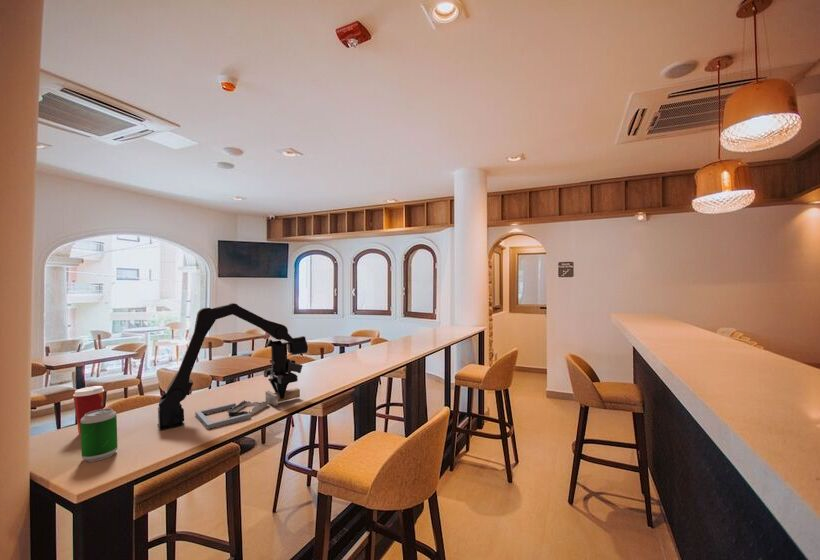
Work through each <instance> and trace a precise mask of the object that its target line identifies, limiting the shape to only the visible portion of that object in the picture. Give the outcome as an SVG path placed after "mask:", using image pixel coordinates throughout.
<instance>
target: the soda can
mask: <svg viewBox="0 0 820 560" xmlns="http://www.w3.org/2000/svg"><path fill="white" fill-rule="evenodd" d="M117 416H118V415H117V411H115V410H113V408H103V409H100V410H95V411H92V412H89V413H86V414H85V415H84V417H83V418H81V436H80V443H81V444H80V447H81V449H80V450H81V459H82V460H85V461H86V462H89V463H90V462H91V463H93V462H98V461H102V460H106V459H108V458H110V457H113V455H114V454H115V453H116V452H117V451H118V422H117V419H118V418H117Z"/></svg>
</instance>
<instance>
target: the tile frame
mask: <svg viewBox="0 0 820 560" xmlns="http://www.w3.org/2000/svg"><path fill="white" fill-rule="evenodd" d="M236 405H237V404H236V403H235V402H232V403H228V404H227V403H226V404H223V405H219V406H215V407H211V408H205V409H202V410H197V411H194V412H195V413H194V415H196V416H195V417H196V419H198V420H199V422H200V421H201V422H202V423H203V424H204V425H205V426H204V425H203V424H202V423H201V422H200V423H201V424H202V425H203V426H204V427H205V428H206V429H207V430H208V429H209V430H211V429H210V428H212V429H215V428H214V427H216V428H219V427H218V426H220V427H223V426H222V425H224V426H226V425H225V424H228V425H230V424H229V423H232V424H234V423H233V422H236V423H238V422H237V421H239V422H242V421H246V420H250V419H251V416H250V414H249V412H248V413H247V414H243V415H239V416H235V417H228V418H225V419H224V418H223V419H219V420H216V421H211V420H210V419H209V418H208V416H206V415H204V414H207V415H209V414H208V413H211V414H214V413H213V412H215V413H218V412H217V411H220V412H223V411H222V410H224V411H227V410H226V409H228V410H230V408H233V407H235V406H236Z"/></svg>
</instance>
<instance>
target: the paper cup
mask: <svg viewBox="0 0 820 560" xmlns="http://www.w3.org/2000/svg"><path fill="white" fill-rule="evenodd" d="M104 392H105V389H104V386H103V385H93V386H87V387H82V388H78V389H76V390H75V391H74V394H72V396H73V397H74V404H75V405H74V406H75V413H76V415H75V416H76V425H77V431H78V435H79V437H81V418H83V417H84V415H85V414H86V413H89V412H92V411H95V410H100V409H104Z"/></svg>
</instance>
